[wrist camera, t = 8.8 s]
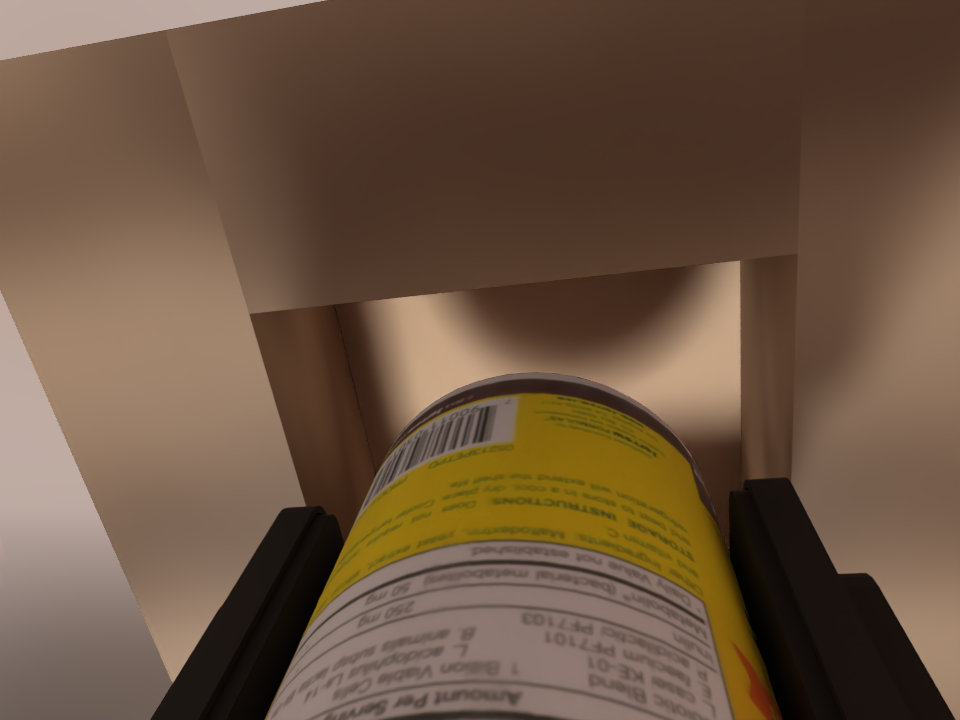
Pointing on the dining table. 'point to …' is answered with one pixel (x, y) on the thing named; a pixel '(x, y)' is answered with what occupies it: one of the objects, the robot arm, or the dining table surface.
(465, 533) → the supplement bottle
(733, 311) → the dining table surface
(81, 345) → the square bottle holder
